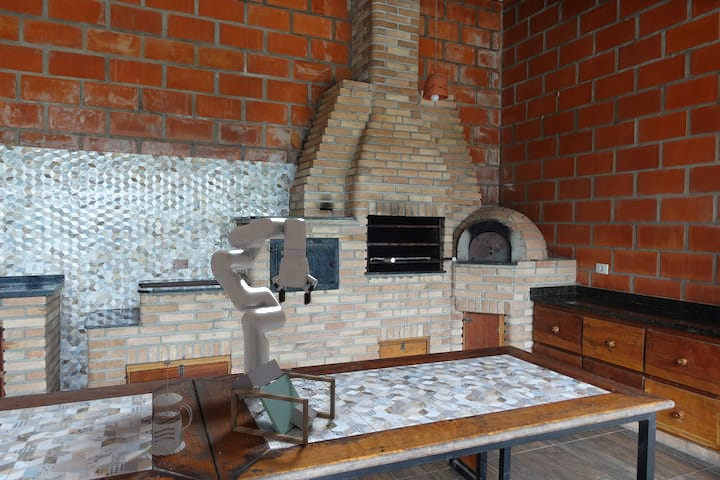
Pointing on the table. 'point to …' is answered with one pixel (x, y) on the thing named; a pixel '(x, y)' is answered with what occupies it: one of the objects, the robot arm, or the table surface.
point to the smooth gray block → (298, 416)
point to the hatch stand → (303, 401)
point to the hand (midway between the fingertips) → (294, 303)
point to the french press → (174, 439)
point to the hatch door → (282, 386)
